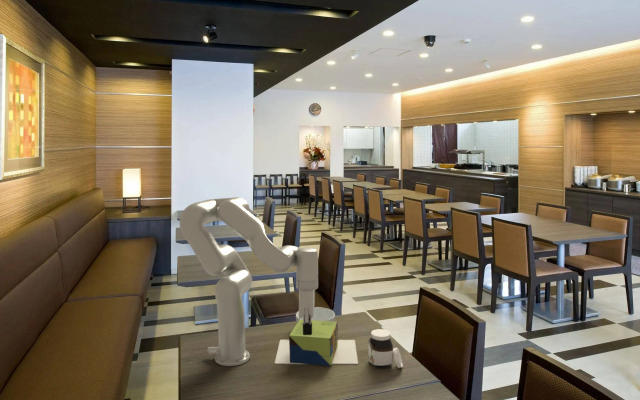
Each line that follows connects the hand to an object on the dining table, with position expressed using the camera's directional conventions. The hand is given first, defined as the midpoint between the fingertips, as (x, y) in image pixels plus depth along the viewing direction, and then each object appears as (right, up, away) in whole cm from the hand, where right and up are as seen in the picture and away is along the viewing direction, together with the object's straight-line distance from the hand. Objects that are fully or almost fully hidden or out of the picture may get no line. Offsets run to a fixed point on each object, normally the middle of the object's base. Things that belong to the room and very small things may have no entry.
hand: (307, 334), depth 162 cm
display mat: (+3, -11, +13) cm, 17 cm away
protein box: (+1, -7, +2) cm, 7 cm away
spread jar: (+28, -12, +3) cm, 31 cm away
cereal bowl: (+2, -8, +34) cm, 35 cm away
